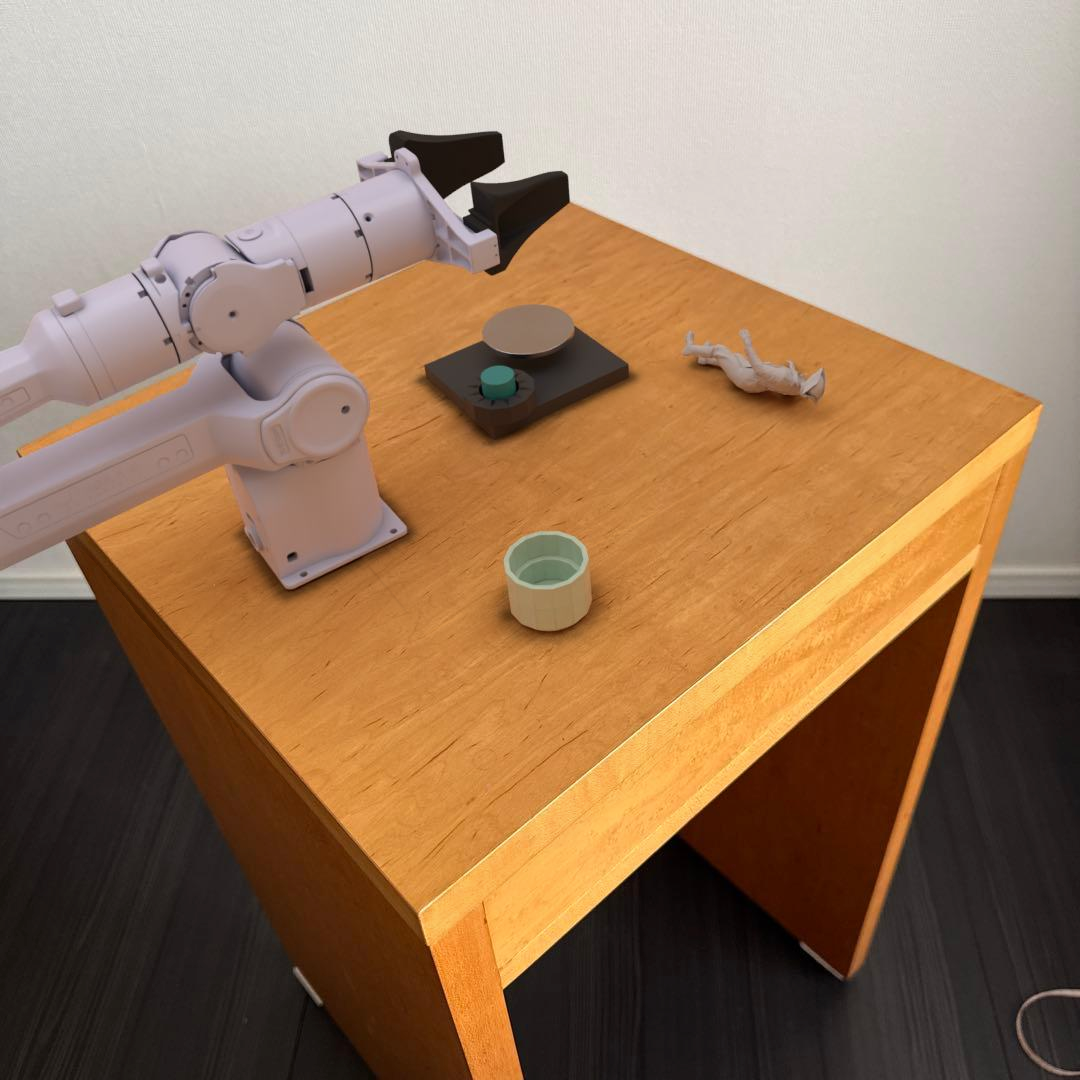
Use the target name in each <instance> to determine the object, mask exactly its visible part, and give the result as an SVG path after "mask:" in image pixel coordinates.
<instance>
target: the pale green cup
mask: <svg viewBox="0 0 1080 1080" xmlns="http://www.w3.org/2000/svg"><path fill="white" fill-rule="evenodd" d="M502 560H503V561H502V562H503V569H504V574H505V580H506V587H507V594H508V601H509V609H510V613H511V615H512V616H513V617H514V618H515V619H516V620H517V621H518V622H519V623H520V624H521V625H523V626H525V627H527V628H531V629H534V630H535V631H541V632H556V631H561V630H564V629H565V630H566V629H568V628H570V627H572V626H574V625H576V623H578V622H579V621H580V620H581V619H582V618H584V617H586V615H587V614H588V612H589V609H590V607H591V605H592V602H593V594H592V582H591V567H590V557H589V553H588V549H587V546H586V545H585V544H584V543H582V541H580V539H578V538H577V537H576V536H575V535H571V534H569V533H565V532H562V531H561V530H560V531H558V530H546V531H545V530H540V531H537V532H536V531H535V532H533V533H529V534H527V535H524V536H522V537H520V538H518V540H517V541H515V542H514V543H512V544H511V545H510V546H509V547H508V549H507V551H506V553H505V555H504V557H503V559H502Z"/></svg>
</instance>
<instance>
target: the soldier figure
mask: <svg viewBox="0 0 1080 1080" xmlns="http://www.w3.org/2000/svg"><path fill="white" fill-rule="evenodd" d="M738 335H739V337H740V338H741V340H742V342H743V345H744V348H745V349H743V350H744V352H745V356H746V357H747V358H746V357H745V356H744V355H743V354H741V353H738V352H734V353H733V352H732V351H731V350H730V349H729V348H728V347H727V346H725V345H724V344H720V343H718V344H717V343H716V344H715V345H712V342H711V341H709V340H707V341H705V342H704V344H702V345H698V344H695V343H694V341H695V332H694V331H693V330H689V331H688V332H687V333H686V334H685V337H684V341H685V346H684V347H683V348H682V351H681V354H682V356H683V357H690V356H694V357H698V359H697V363H698V365H703V366H704V365H713V366H717V367H720V368H721V369H722V370H723V371H724V372H725V375H726V376H727V378H728V380H729V381H731V382H732V383H733V384H734V385H735V386H736V387H738V388H739V389H741V390H743V391H744V392H745V393H748V394H755V393H756V394H757V393H763V392H765V391H772V392H775V393H779V394H781V395H784V396H788V395H789V396H800V397H802V398H803V399H807V400H808V399H810V400H811V401H812V403H813V404H814V406H817V404H818V403H819V402H820V401H821V399H822V398H823V397H824V395H825V392H826V391H825V390H826V381H827V380H826V379H827V378H826V371H825V366H822V367H820V368H819V369H818V370H816V372H814V373H813V374H809V373H808V372H806V373H803V374H800V373H799V371H797V370H796V365H795V364H794V362H793V361H792V360H790V359H787V360H785V362H786V363H788V367H787V366H785V365H782V364H781V365H779V364H777V365H776V364H773V363H772V362H771V361H762V360H761V359H760V357H759V356H758V355H757V352H756V350H755V349H754V347H753V342H752V337H751V335H750V332H749V330H747V328H741V329H739V332H738ZM805 375H806V376H807V375H808V378H807V377H805ZM805 378H806V379H807V380H806V379H805Z"/></svg>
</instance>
